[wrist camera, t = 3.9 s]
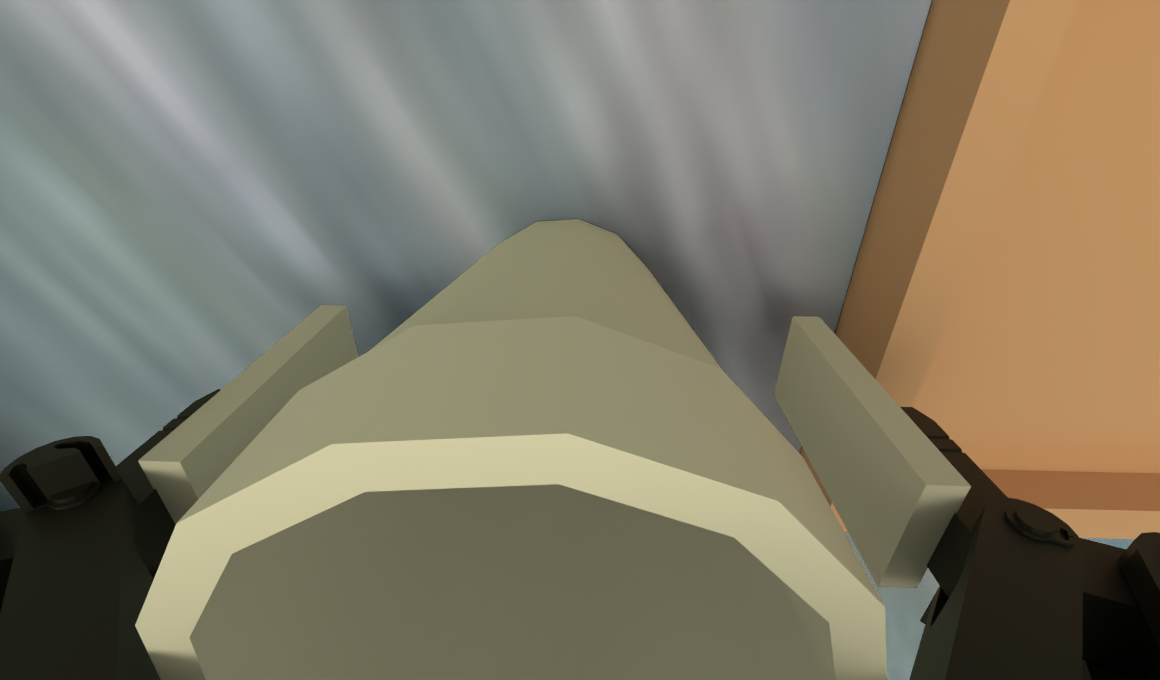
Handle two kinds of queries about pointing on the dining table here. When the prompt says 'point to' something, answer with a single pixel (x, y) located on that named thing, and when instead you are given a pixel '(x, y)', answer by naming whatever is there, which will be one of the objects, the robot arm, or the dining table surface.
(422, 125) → the dining table surface
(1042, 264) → the tray
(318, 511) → the foam cup
